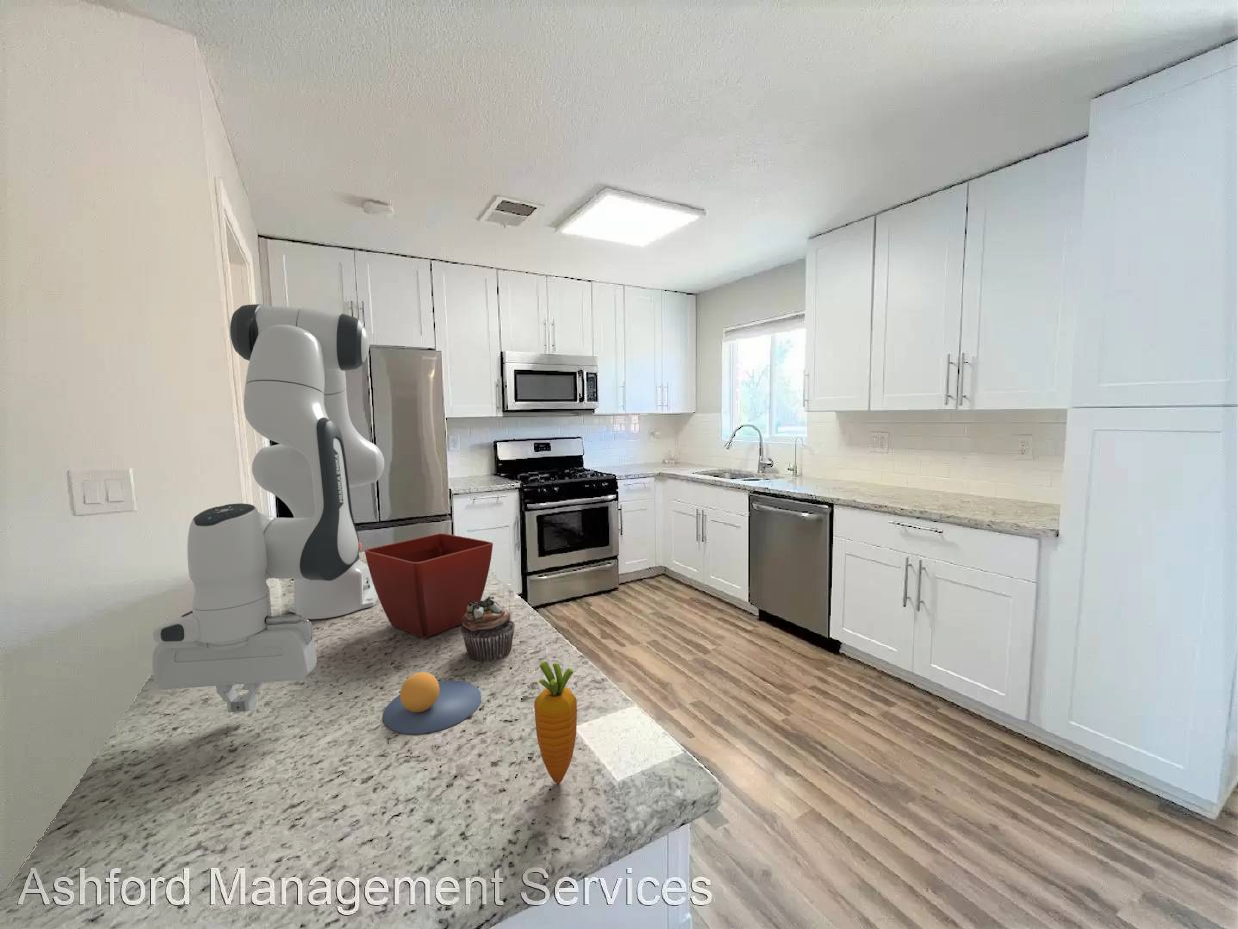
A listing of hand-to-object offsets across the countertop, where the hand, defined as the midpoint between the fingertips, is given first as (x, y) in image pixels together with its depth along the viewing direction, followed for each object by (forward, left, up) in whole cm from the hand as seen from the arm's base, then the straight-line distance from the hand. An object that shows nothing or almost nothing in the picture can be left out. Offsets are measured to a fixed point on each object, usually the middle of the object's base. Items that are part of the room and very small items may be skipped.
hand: (242, 710), depth 73 cm
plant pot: (-33, +19, -2) cm, 38 cm away
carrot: (+19, +46, -2) cm, 50 cm away
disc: (0, +27, -2) cm, 27 cm away
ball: (+1, +25, +1) cm, 25 cm away
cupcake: (-17, +33, -2) cm, 37 cm away
